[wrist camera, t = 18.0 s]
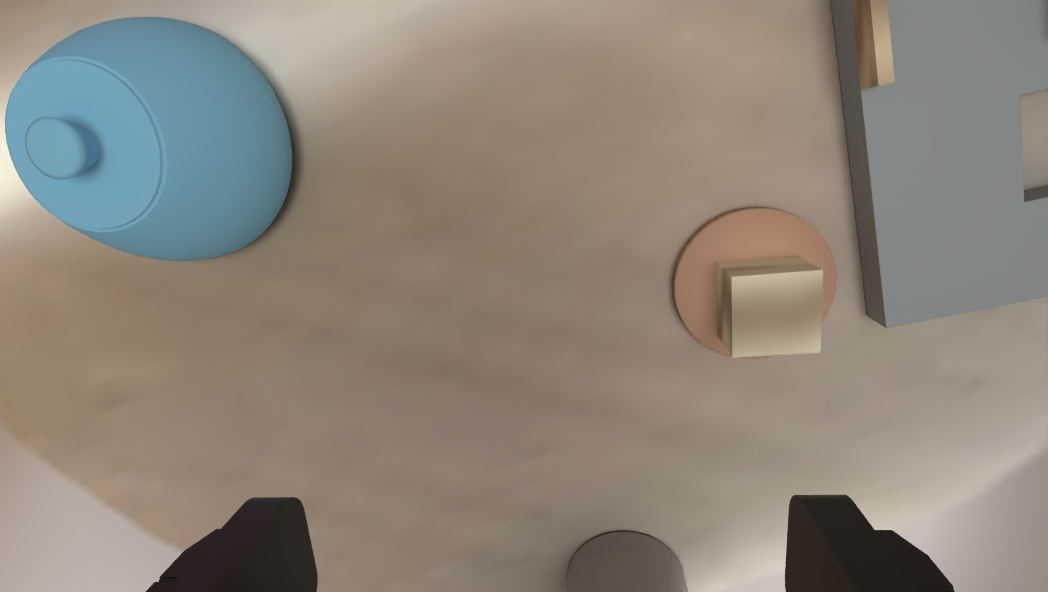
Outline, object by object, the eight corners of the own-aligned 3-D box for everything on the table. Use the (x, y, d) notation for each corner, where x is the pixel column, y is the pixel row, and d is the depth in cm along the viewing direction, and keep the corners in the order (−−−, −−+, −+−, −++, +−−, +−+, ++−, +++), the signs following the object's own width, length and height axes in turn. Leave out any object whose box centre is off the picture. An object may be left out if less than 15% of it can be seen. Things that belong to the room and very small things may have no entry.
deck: (1122, 264, 35) (1161, 273, 33) (867, 315, 38) (886, 327, 35) (1122, -196, 29) (1170, -226, 27) (819, -101, 32) (838, -120, 29)
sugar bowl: (333, 229, 40) (237, 266, 29) (146, 269, 42) (-10, 317, 31) (263, -1, 36) (123, -60, 25) (63, 56, 38) (-148, 25, 27)
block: (796, 330, 37) (820, 352, 33) (717, 335, 38) (732, 357, 34) (797, 255, 36) (823, 269, 32) (715, 261, 37) (731, 276, 33)
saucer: (837, 335, 38) (845, 342, 37) (687, 365, 40) (690, 372, 39) (818, 190, 36) (826, 191, 35) (659, 227, 38) (662, 230, 36)
